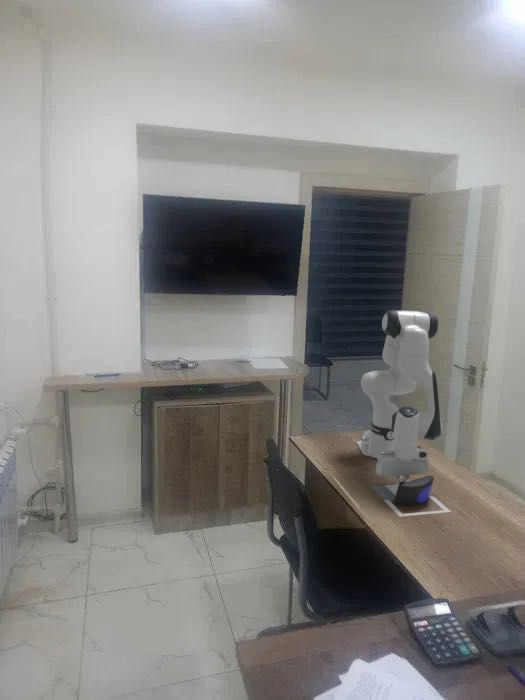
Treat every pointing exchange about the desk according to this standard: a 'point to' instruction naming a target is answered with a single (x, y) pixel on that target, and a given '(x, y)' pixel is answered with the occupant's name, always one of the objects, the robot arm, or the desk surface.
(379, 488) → the mounting board
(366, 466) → the desk surface
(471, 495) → the desk surface
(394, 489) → the light grey rectangular plate
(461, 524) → the desk surface
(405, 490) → the leaning round-cornered charcoal block
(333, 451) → the desk surface
